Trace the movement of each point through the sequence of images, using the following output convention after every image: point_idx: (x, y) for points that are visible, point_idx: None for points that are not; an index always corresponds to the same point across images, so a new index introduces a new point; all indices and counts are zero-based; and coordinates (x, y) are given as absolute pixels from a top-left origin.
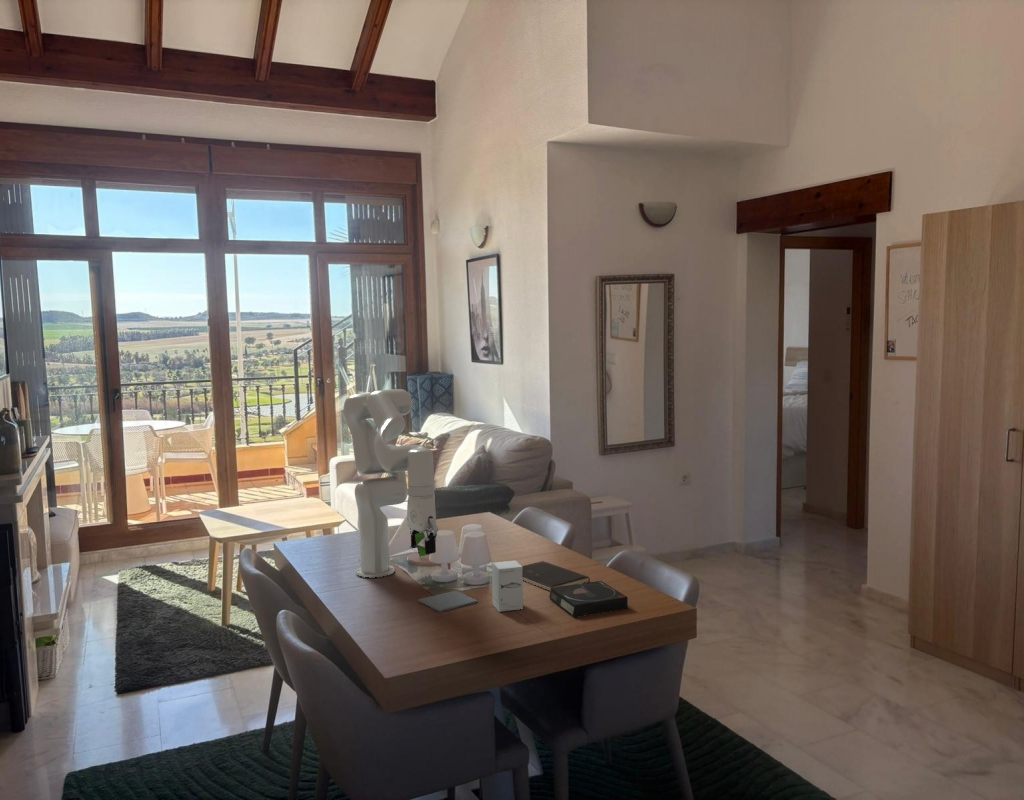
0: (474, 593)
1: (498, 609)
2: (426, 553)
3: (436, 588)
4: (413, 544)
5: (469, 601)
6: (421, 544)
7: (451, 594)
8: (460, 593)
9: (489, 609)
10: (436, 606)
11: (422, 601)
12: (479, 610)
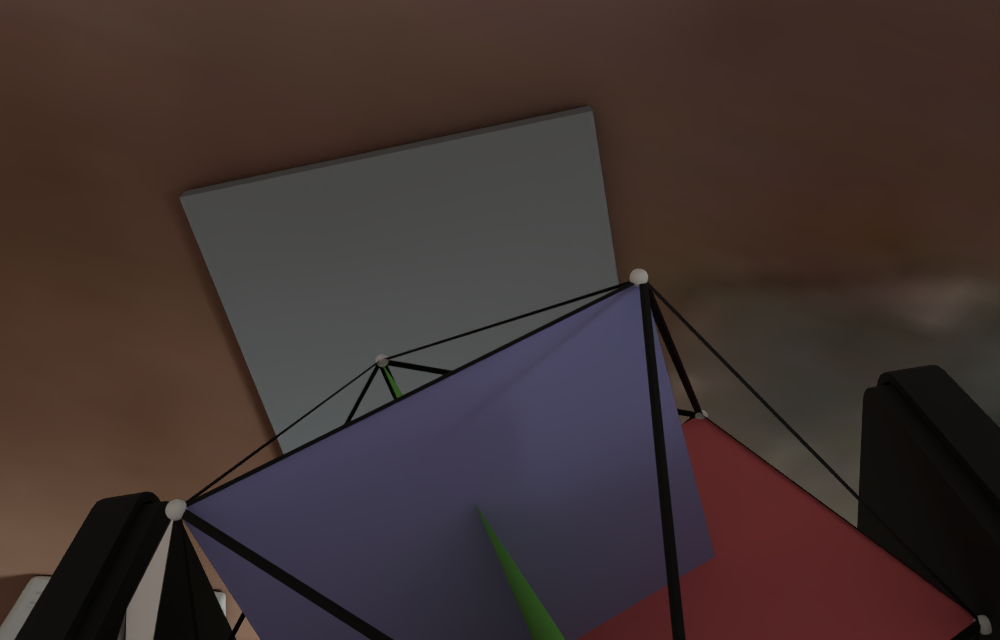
0: None
1: (36, 588)
2: (104, 512)
3: (849, 368)
4: (907, 459)
5: None
6: (140, 621)
7: None
8: None
9: None
10: (300, 207)
11: (511, 130)
12: (125, 480)
